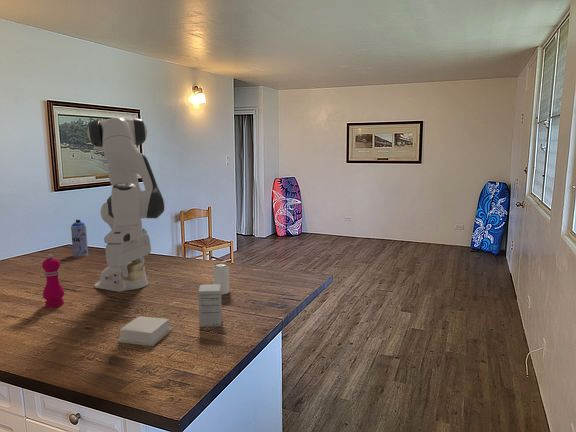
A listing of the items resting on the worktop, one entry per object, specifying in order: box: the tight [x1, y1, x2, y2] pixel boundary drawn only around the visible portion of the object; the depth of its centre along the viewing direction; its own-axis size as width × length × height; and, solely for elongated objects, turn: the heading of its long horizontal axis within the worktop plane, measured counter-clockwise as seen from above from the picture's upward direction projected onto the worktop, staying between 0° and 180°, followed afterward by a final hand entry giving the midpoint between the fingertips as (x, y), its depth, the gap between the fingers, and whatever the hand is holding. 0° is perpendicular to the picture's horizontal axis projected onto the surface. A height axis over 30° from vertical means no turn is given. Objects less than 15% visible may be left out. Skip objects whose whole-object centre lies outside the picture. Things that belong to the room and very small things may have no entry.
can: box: [212, 262, 230, 296], centre depth 181 cm, size 6×6×12 cm
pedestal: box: [117, 315, 173, 347], centre depth 140 cm, size 12×12×4 cm
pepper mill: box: [41, 253, 65, 309], centre depth 166 cm, size 7×7×20 cm
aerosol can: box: [70, 219, 89, 258], centre depth 242 cm, size 8×8×20 cm
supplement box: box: [197, 283, 223, 328], centre depth 150 cm, size 7×7×13 cm
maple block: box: [121, 262, 144, 281], centre depth 145 cm, size 5×5×5 cm
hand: (132, 273), depth 146 cm, fingers closed on maple block, 5 cm apart
